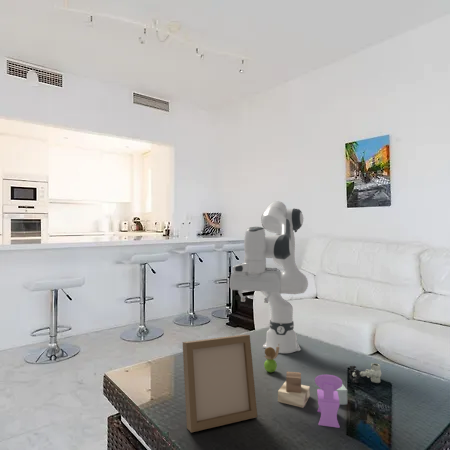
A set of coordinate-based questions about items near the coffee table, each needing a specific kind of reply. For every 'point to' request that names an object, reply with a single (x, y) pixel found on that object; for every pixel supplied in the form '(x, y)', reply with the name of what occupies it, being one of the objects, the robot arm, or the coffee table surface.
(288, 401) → the beech block
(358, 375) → the valve
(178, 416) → the coffee table surface
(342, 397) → the grey-green cube
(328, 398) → the toy chair
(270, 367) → the snail figurine
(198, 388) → the photo frame
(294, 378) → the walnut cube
